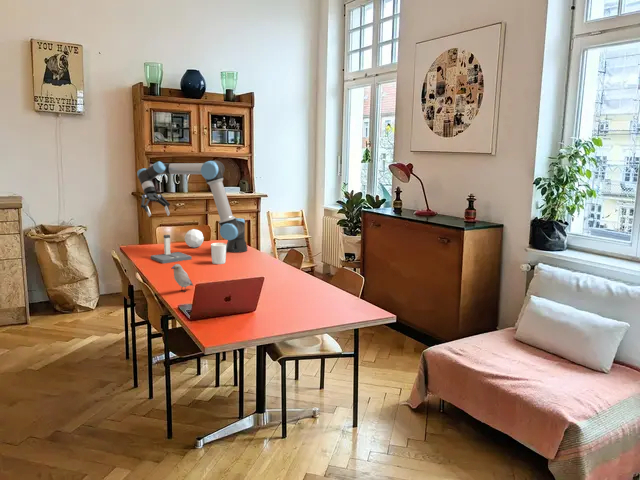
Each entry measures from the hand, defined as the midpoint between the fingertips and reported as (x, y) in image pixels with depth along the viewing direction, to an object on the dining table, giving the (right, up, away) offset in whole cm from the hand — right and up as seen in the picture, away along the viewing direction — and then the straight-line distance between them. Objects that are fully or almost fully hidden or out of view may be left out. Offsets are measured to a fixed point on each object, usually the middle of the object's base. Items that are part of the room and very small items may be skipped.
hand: (159, 215), depth 352 cm
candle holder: (+41, -31, -13) cm, 53 cm away
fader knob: (+6, -26, -3) cm, 26 cm away
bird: (+35, -43, -77) cm, 95 cm away
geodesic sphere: (+15, -22, +33) cm, 42 cm away
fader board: (+9, -29, -6) cm, 31 cm away
